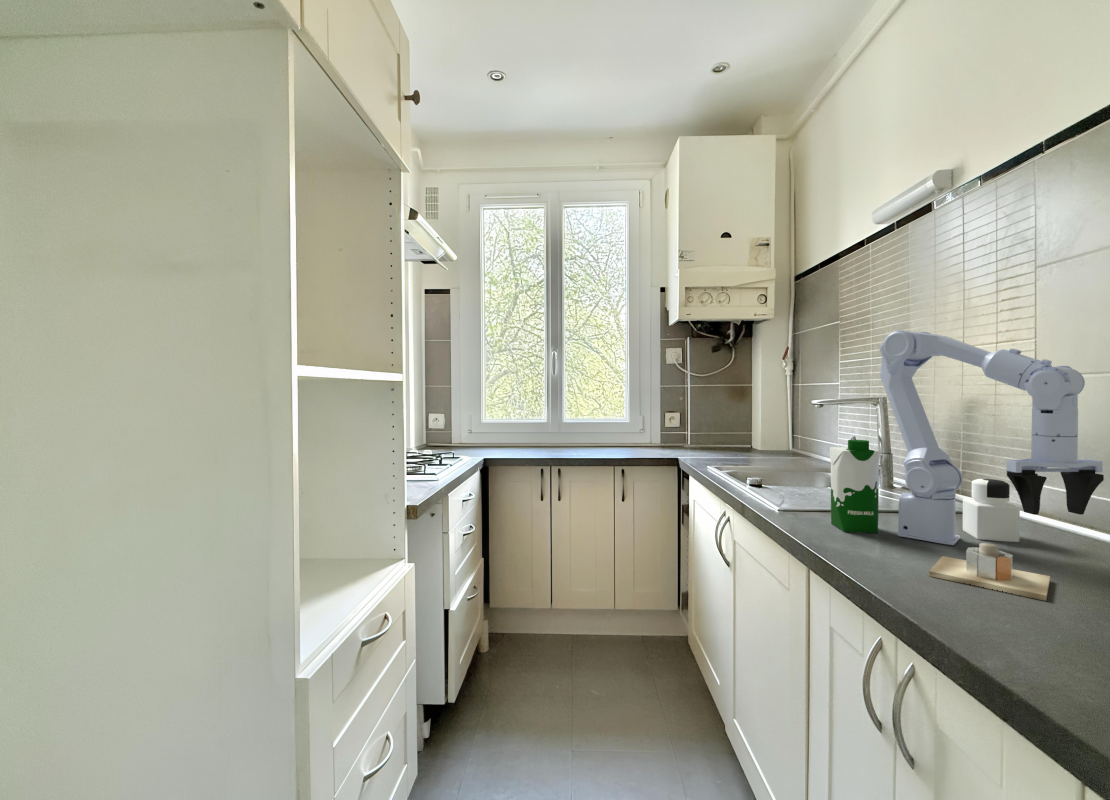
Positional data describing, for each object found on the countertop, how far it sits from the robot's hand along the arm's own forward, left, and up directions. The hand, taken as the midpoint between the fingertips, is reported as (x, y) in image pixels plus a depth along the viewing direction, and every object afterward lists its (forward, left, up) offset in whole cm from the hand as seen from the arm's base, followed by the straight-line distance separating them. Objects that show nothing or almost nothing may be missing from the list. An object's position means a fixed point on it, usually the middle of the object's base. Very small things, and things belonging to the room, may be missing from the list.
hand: (1053, 513), depth 88 cm
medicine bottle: (-10, +16, -10) cm, 21 cm away
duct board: (-7, -15, -9) cm, 19 cm away
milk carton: (-32, +3, -10) cm, 34 cm away
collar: (-7, -15, -9) cm, 19 cm away
